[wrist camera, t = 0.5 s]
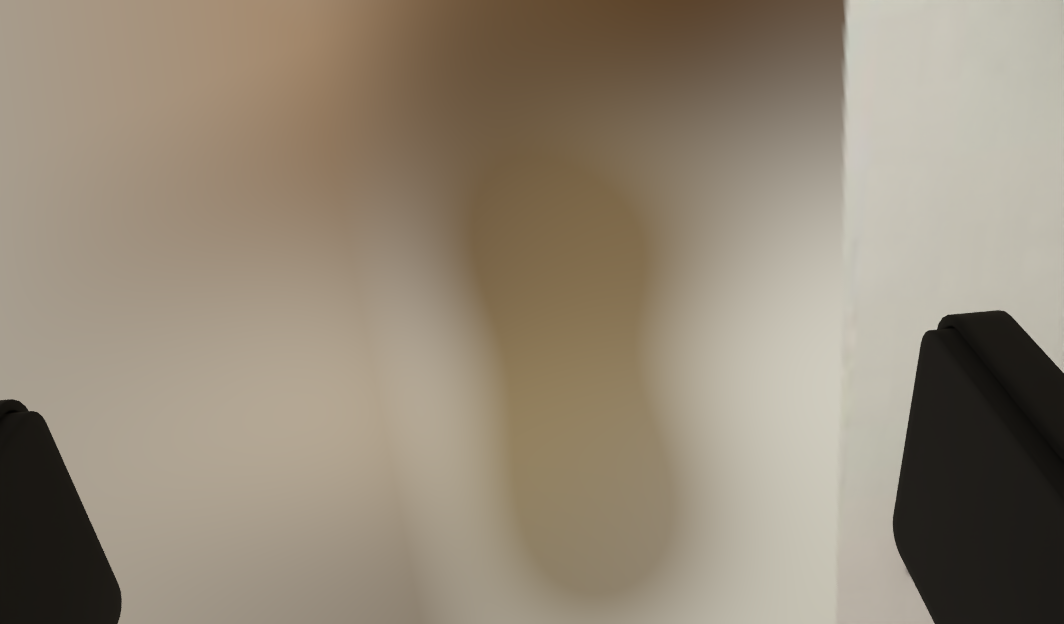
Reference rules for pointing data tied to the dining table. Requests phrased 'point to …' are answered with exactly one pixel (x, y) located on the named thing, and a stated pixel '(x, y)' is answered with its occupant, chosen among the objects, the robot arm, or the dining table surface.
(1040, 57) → the dining table surface
